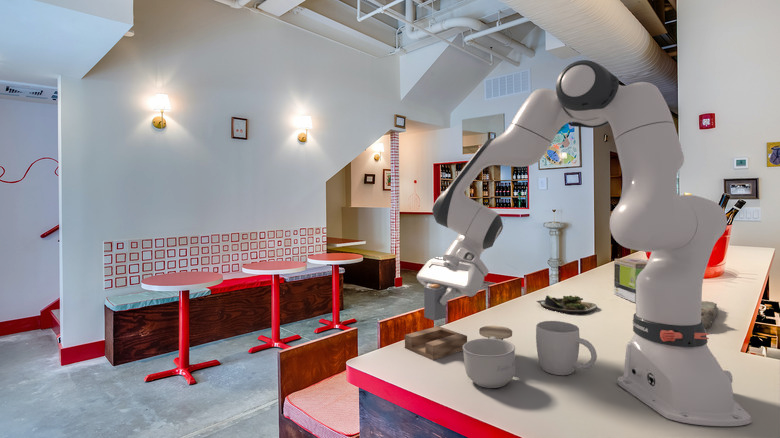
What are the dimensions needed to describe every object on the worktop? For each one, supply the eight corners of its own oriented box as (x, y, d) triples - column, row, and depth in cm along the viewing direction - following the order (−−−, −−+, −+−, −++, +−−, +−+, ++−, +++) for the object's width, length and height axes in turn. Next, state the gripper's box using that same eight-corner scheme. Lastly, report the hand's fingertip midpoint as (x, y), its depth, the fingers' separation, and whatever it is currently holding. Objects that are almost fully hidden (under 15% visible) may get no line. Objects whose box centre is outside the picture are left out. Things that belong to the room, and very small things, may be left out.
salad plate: (562, 299, 162) (562, 287, 162) (608, 308, 148) (608, 295, 147) (531, 307, 151) (531, 294, 151) (577, 318, 136) (577, 304, 136)
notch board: (438, 338, 118) (438, 326, 117) (467, 349, 109) (467, 335, 109) (404, 347, 110) (404, 334, 110) (433, 360, 102) (432, 345, 101)
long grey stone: (724, 315, 141) (688, 311, 148) (724, 299, 141) (688, 296, 148) (710, 334, 116) (668, 329, 123) (709, 315, 116) (667, 311, 123)
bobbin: (515, 360, 100) (514, 335, 100) (481, 359, 101) (481, 335, 101) (509, 348, 108) (509, 325, 108) (478, 348, 109) (477, 325, 109)
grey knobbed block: (435, 314, 112) (435, 282, 112) (446, 317, 109) (445, 285, 109) (424, 317, 110) (424, 284, 109) (434, 320, 107) (434, 287, 106)
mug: (530, 371, 94) (529, 327, 94) (545, 359, 101) (545, 318, 100) (590, 387, 86) (590, 339, 85) (602, 373, 92) (602, 328, 92)
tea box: (662, 303, 152) (662, 263, 151) (634, 303, 152) (634, 263, 151) (638, 294, 167) (638, 257, 166) (613, 294, 167) (613, 257, 166)
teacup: (506, 398, 82) (506, 358, 81) (455, 386, 87) (454, 348, 87) (524, 372, 93) (524, 337, 93) (478, 363, 99) (478, 330, 99)
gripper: (427, 249, 121) (401, 287, 116) (482, 257, 105) (454, 301, 99) (439, 263, 124) (414, 300, 119) (493, 272, 107) (467, 316, 102)
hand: (433, 301), depth 109 cm, fingers closed on grey knobbed block, 4 cm apart
